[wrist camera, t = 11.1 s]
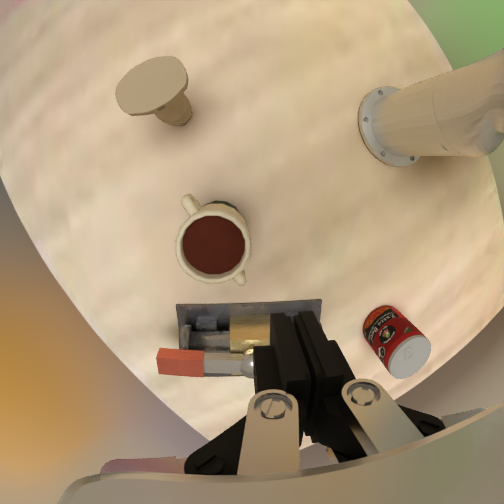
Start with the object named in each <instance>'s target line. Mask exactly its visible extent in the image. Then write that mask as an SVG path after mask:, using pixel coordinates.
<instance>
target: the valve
mask: <svg viewBox="0 0 504 504" xmlns="http://www.w3.org/2000/svg"><path fill="white" fill-rule="evenodd" d="M321 304H322V300H321V299H316V300H300V301H282V302H260V303H231V304H176V310H177V318H178V325H179V332H180V334H179V349H181V350H197V351H204V353H230V354H242V353H243V352H245V351H246V350H249V349H253V346H266V345H270V314H271V313H283V312H284V313H285V315H286V316H290V317H291V320H292V322H293V316H294V315H298V312H300V311H313V312H314V314H315V316H316V318H317V320H318V322H319V324H320V326H321V328H322V325H321V323H320V313H321ZM322 330H323V329H322ZM221 376H244V375H243V374H226V373H204V377H221Z"/></svg>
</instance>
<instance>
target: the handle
mask: <svg viewBox="0 0 504 504" xmlns="http://www.w3.org/2000/svg"><path fill="white" fill-rule="evenodd" d="M187 86H188V75H187V72H186V69H185V67H184V66H183V64H182V62H181V61H180V60H179V59H177V58H176V57H173V56H164V57H156V58H152V59H149V60H147V61H145V62H143V63H141V64H139V65H137V66H135V67H134V68H132V69H131V70H130V71H129V72H128V73H127V74H126V75H125V76H124V77H123V78H122V79H121V81H120V82H119V83H118V84H117V87H116V92H115V94H116V100H117V103H118V105H119V107H120V108H121V109H122V110H123V111H124V112H125V113H127V114H129V115H131V116H139V115H148V114H153V113H154V114H155V115H156V116H157V117H158V118H159V119H160V120H162V121H163V122H165V123H168V124H170V125H181V126H183V125H185V124H186V122H187V120H188V119H189V118H190V117H191V116H192V112H191V106H190V103H189V101H188V99H187V97H186V96H185V95H184V94H183V92H184V91H185V90H186V89H187Z"/></svg>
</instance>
